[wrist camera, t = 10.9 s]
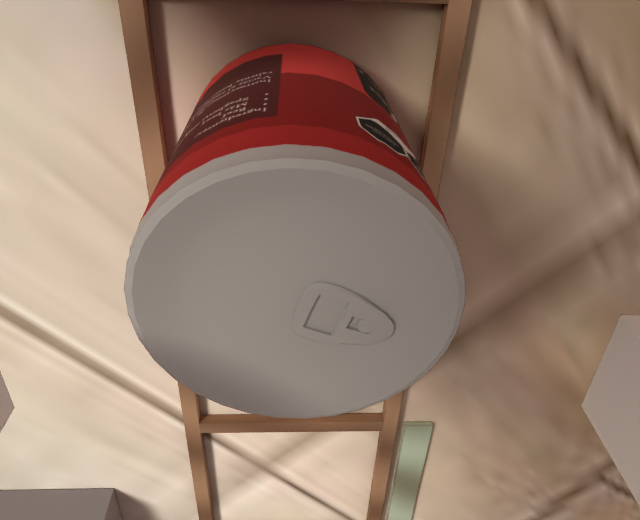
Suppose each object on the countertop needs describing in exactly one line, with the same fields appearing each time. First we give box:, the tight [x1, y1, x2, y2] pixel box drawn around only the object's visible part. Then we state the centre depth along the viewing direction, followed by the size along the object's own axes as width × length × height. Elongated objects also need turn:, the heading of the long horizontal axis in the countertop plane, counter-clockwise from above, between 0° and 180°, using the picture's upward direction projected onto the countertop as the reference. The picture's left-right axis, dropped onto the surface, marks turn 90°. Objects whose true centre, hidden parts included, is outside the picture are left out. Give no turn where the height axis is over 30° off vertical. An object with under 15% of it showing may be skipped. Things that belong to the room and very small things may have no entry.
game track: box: [118, 0, 472, 520], centre depth 27 cm, size 34×14×1 cm, turn 178°
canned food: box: [124, 44, 465, 418], centre depth 17 cm, size 8×8×11 cm
